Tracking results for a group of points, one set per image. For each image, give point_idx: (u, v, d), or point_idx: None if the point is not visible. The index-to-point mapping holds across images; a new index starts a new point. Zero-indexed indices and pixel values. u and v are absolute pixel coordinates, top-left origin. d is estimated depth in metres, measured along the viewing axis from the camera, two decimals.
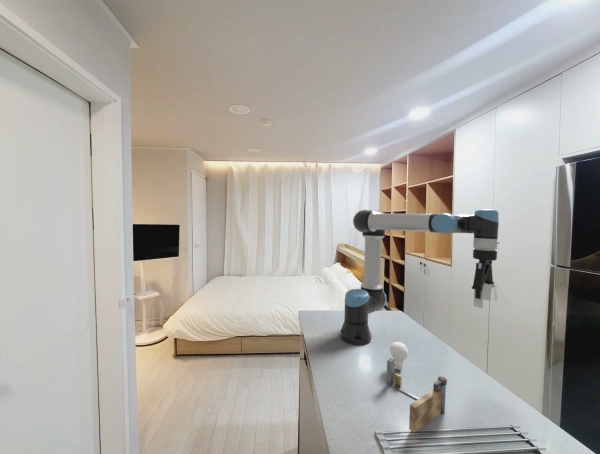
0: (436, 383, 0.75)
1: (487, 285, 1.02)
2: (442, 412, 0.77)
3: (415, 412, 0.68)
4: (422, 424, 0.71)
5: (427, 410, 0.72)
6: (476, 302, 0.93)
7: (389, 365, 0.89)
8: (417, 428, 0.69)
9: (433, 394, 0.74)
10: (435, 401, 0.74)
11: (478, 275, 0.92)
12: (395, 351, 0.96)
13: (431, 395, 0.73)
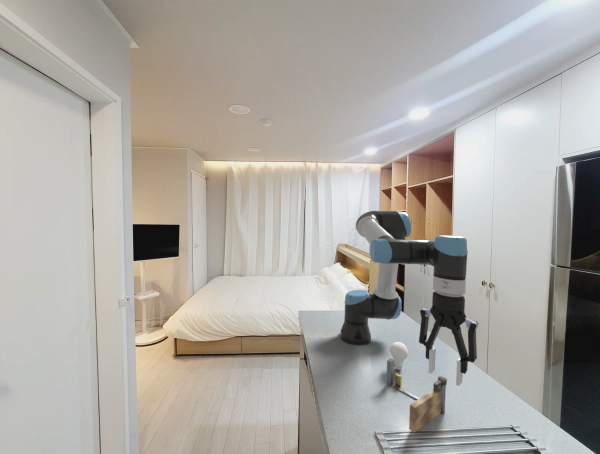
0: (436, 383, 0.75)
1: None
2: (442, 412, 0.77)
3: (415, 412, 0.68)
4: (422, 424, 0.71)
5: (427, 410, 0.72)
6: None
7: (389, 365, 0.89)
8: (417, 428, 0.69)
9: (433, 394, 0.74)
10: (435, 401, 0.74)
11: None
12: (395, 351, 0.96)
13: (431, 395, 0.73)
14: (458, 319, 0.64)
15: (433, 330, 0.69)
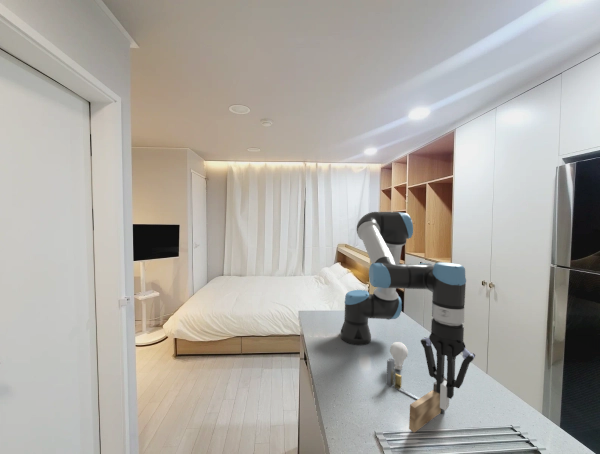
0: (436, 383, 0.75)
1: None
2: (442, 412, 0.77)
3: (415, 412, 0.68)
4: (422, 424, 0.71)
5: (427, 410, 0.72)
6: None
7: (389, 365, 0.89)
8: (417, 428, 0.69)
9: (433, 394, 0.74)
10: (435, 401, 0.74)
11: None
12: (395, 351, 0.96)
13: (431, 395, 0.73)
14: (457, 347, 0.65)
15: (438, 361, 0.68)
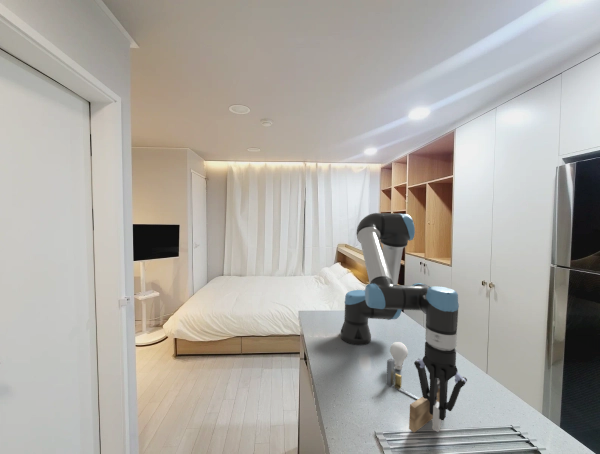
0: None
1: None
2: None
3: (415, 412, 0.68)
4: (422, 424, 0.71)
5: (427, 410, 0.72)
6: None
7: (389, 365, 0.89)
8: (417, 428, 0.69)
9: None
10: None
11: None
12: (395, 351, 0.96)
13: None
14: (449, 371, 0.66)
15: (431, 383, 0.69)
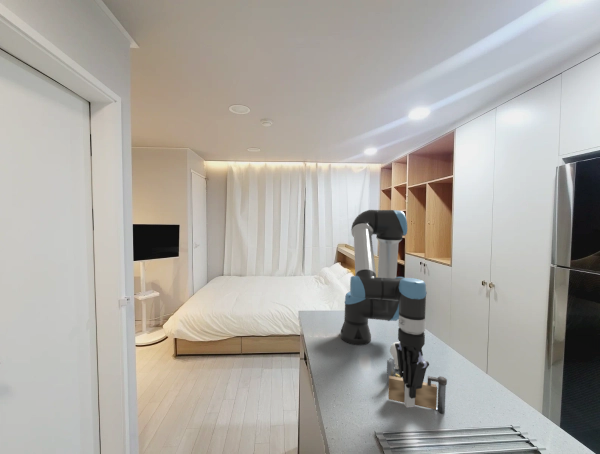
0: (429, 377, 0.78)
1: None
2: (442, 412, 0.77)
3: (389, 382, 0.81)
4: (401, 400, 0.80)
5: None
6: None
7: (389, 365, 0.89)
8: (393, 398, 0.81)
9: None
10: (424, 392, 0.78)
11: None
12: (395, 351, 0.96)
13: None
14: (413, 353, 0.74)
15: (403, 363, 0.78)
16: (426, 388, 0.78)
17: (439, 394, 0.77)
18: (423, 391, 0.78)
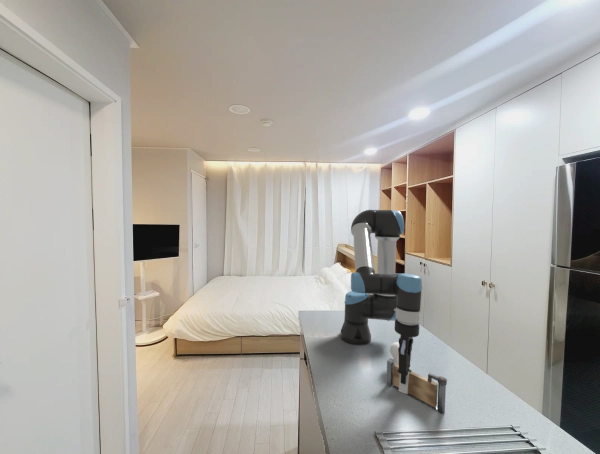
0: (430, 374, 0.80)
1: None
2: (442, 412, 0.77)
3: (394, 369, 0.88)
4: None
5: (411, 384, 0.84)
6: None
7: (389, 365, 0.89)
8: (397, 385, 0.87)
9: (422, 378, 0.81)
10: (424, 386, 0.81)
11: None
12: (395, 351, 0.96)
13: (419, 377, 0.82)
14: (401, 341, 0.81)
15: None
16: (425, 383, 0.80)
17: (439, 394, 0.77)
18: (423, 385, 0.81)
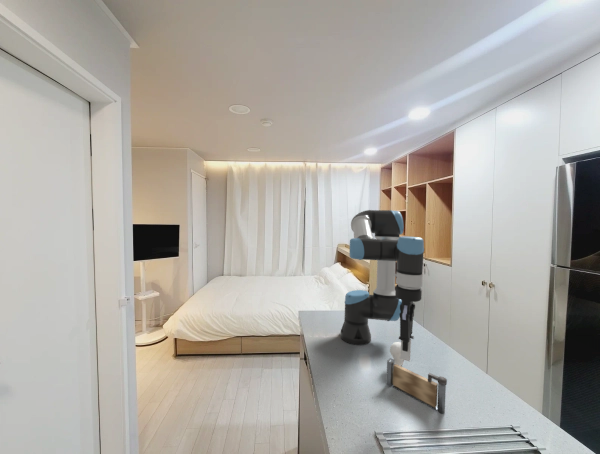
0: (430, 374, 0.80)
1: None
2: (442, 412, 0.77)
3: (394, 369, 0.88)
4: (403, 388, 0.86)
5: (411, 384, 0.84)
6: None
7: (389, 365, 0.89)
8: (397, 385, 0.87)
9: (422, 378, 0.81)
10: (424, 386, 0.81)
11: None
12: (395, 351, 0.96)
13: (419, 377, 0.82)
14: (402, 306, 0.76)
15: None
16: (425, 383, 0.80)
17: (439, 394, 0.77)
18: (423, 385, 0.81)
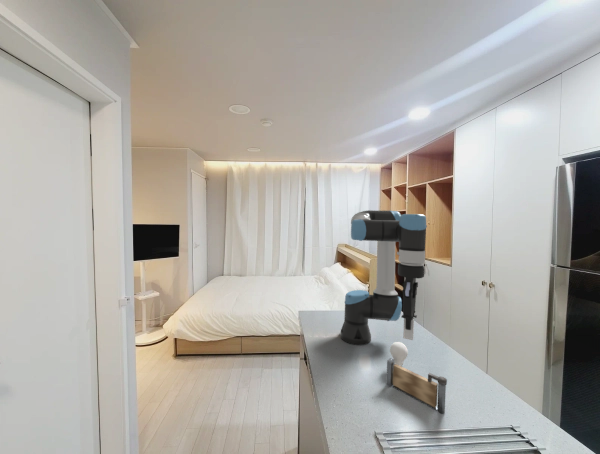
0: (430, 374, 0.80)
1: None
2: (442, 412, 0.77)
3: (394, 369, 0.88)
4: (403, 388, 0.86)
5: (411, 384, 0.84)
6: None
7: (389, 365, 0.89)
8: (397, 385, 0.87)
9: (422, 378, 0.81)
10: (424, 386, 0.81)
11: None
12: (395, 351, 0.96)
13: (419, 377, 0.82)
14: (405, 283, 0.76)
15: None
16: (425, 383, 0.80)
17: (439, 394, 0.77)
18: (423, 385, 0.81)
